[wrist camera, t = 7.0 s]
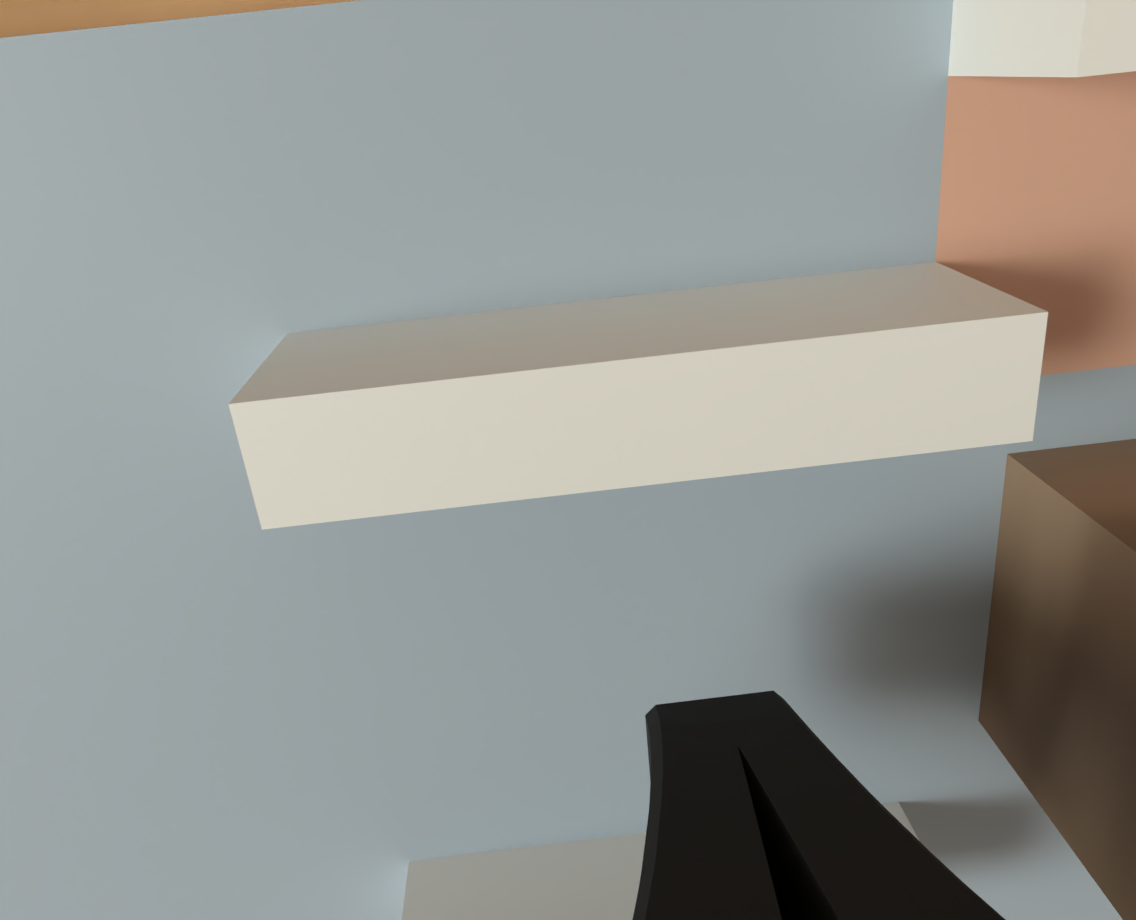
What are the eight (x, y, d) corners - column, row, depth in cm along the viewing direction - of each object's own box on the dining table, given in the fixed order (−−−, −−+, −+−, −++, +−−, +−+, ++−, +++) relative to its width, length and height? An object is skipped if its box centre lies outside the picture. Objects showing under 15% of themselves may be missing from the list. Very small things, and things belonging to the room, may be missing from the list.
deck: (1442, 801, 16) (1708, 1009, 12) (70, 971, 15) (-58, 1236, 12) (1810, -139, 10) (2493, -249, 7) (-345, 88, 10) (-825, 95, 6)
